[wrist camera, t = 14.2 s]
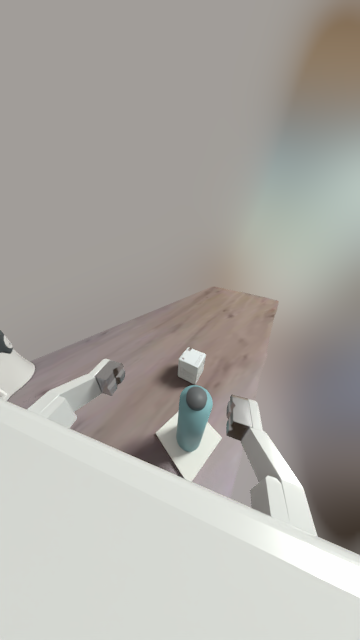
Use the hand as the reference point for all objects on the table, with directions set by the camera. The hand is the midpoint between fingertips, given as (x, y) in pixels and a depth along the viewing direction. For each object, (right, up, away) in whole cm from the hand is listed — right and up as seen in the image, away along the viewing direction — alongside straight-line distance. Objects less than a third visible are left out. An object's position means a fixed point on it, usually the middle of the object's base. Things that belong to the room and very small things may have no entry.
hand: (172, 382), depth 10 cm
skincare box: (+4, -12, +34) cm, 37 cm away
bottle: (+2, -20, +20) cm, 28 cm away
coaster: (+2, -21, +20) cm, 29 cm away
